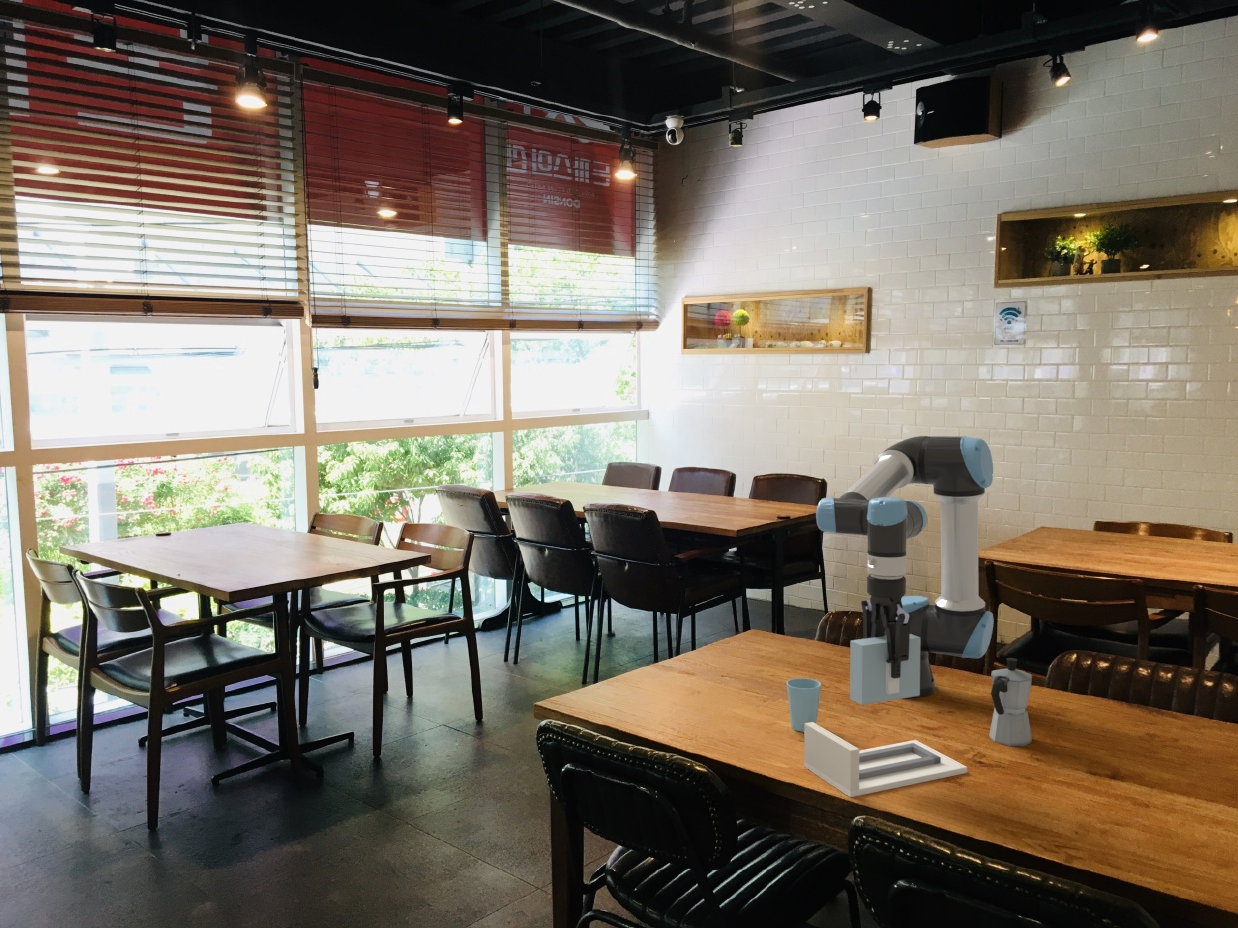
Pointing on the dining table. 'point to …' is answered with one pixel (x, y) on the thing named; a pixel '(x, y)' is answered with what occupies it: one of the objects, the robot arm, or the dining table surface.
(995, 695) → the coffee maker
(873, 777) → the track
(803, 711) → the cup
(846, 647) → the dining table surface
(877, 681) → the light blue block
